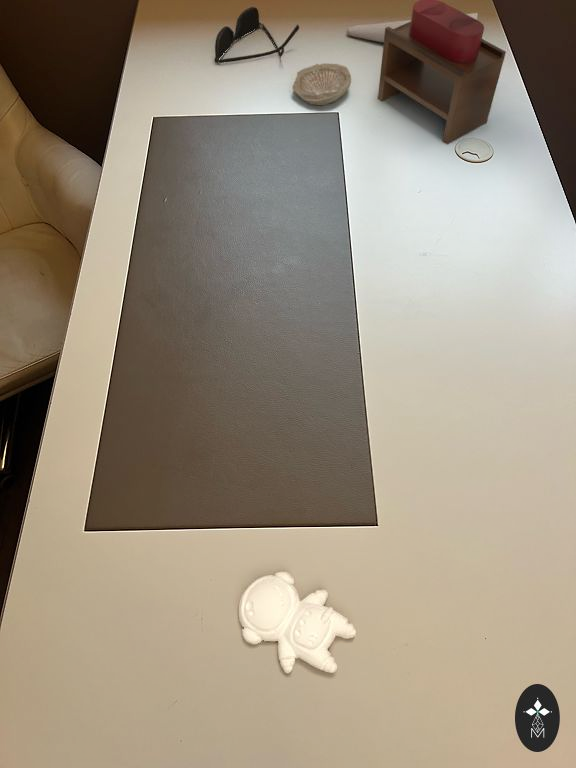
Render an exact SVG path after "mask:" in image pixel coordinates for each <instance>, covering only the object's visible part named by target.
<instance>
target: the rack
mask: <svg viewBox="0 0 576 768" xmlns="http://www.w3.org/2000/svg"><path fill="white" fill-rule="evenodd" d="M410 26H411V22H408V23H406V24H404V25H401V26H399V27H397V28H395V29H392V28H390V27H386V28H385V35H384V43H383V46H382V54H381V55H382V56H381V63H380V73H379V82H378V83H379V84H378V93H377V99H378V100H379V101H381V102H383V101H385V100H388V99H389V98H392V97H394V96H395V95H398V94H400V93H403V94H404V95H406V96H408V97H409V98H411V99H413V101H415V102H417V103H419V104H420V105H422V106H423V107H424V108H427V109H428V110H430V111H431V112H433V113H435V114H436V115H438V116H439V117H441V118H442V119H444V120H446V123H445V126H444V132H443V137H442V142H443V143H444V144H446V145H449V144H451V143H452V142H454V141H455V140H458V139H460V138H461V137H463V136H465V135H467V134H469V133H471V132H472V131H474V130H477V129H479V128H480V127H482V126H484V125H486V124H487V123H488V120H489V116H490V113H491V108H492V105H493V102H494V98H495V94H496V91H497V87H498V84H499V83H498V82H499V79H500V75H501V71H502V69H503V64H504V62H505V57H506V54H507V53H506V52H507V51H506V50H504V49H502V48H500V47H498V46H496V45H495V44H493V43H490V42H489V41H487V40H486V39H484V38H482V40H481V44H480V48H479V53H478V57H477V58H476V59H475V60H474V61H471V62H468V63H457V62H453V61H450V60H448V59H446V58H445V57H443V56H441V55H439V54H438V53H436V52H434V51H432V50H431V49H429V48H427V47H426V46H424V45H422V44H420V43H419V42H417V41H415V40H414V39H412V38H411V37H410V34H409V33H410Z"/></svg>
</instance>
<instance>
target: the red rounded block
mask: <svg viewBox="0 0 576 768" xmlns="http://www.w3.org/2000/svg"><path fill="white" fill-rule="evenodd" d="M466 14H467V13H465V12H462V11H460V10H459V9H457V8H455V7H453V6H452V5H449V4H447V3H446V2H444V1H441V0H417V1H416V2H414V4H413V5H412V12H411V19H410V20H411V26H410V33H409V34H410V37H411V38H412V39H414V40H415V41H417V42H419V43H420V44H422V45H424V46H426V47H427V48H429V49H431V50H432V51H434V52H436V53H438V54H439V55H441V56H443V57H445V58H446V59H448V60H450V61H453V62H457V63H468V62H471V61H474V60H475V59H476V58H477V57H478V53H479V48H480V44H481V40H482V39H483V35H484V31H485V26H484V23H482V22H481V21H480V20H478V19H477V20H476V19H474V18H472V17H470V16H468V15H466Z"/></svg>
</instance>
